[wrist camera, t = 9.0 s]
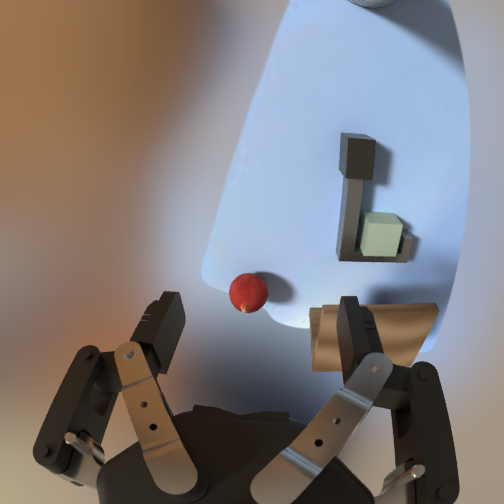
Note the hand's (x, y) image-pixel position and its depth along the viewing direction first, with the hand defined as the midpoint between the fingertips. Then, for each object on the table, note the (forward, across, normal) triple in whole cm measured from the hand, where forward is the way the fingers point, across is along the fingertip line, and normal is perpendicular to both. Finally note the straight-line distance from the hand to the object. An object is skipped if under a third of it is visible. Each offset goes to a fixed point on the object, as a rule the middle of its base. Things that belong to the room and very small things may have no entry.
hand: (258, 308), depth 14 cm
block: (+27, -15, +8) cm, 32 cm away
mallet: (+27, -14, +4) cm, 30 cm away
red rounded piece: (+27, +4, +18) cm, 33 cm away
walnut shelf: (+27, -14, +20) cm, 36 cm away
